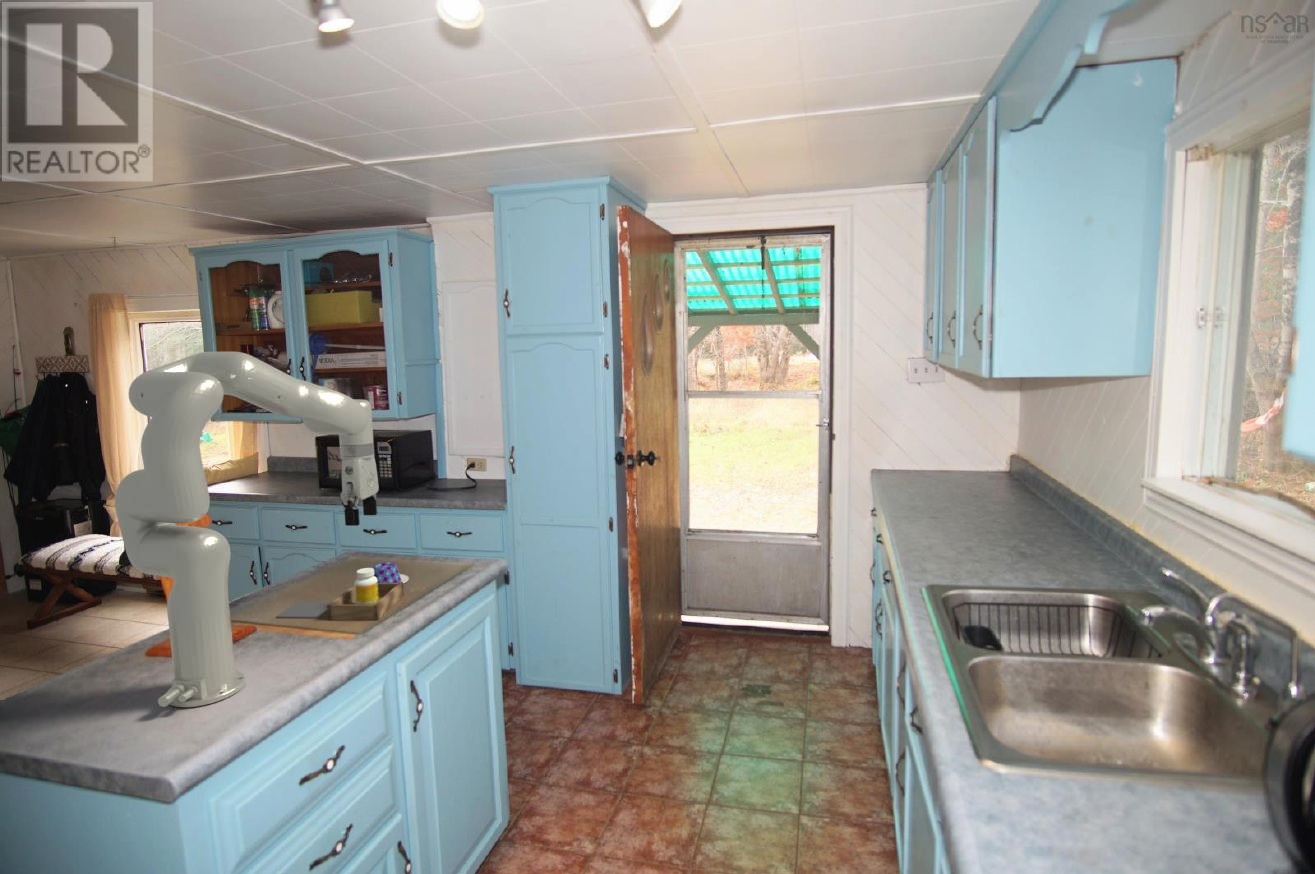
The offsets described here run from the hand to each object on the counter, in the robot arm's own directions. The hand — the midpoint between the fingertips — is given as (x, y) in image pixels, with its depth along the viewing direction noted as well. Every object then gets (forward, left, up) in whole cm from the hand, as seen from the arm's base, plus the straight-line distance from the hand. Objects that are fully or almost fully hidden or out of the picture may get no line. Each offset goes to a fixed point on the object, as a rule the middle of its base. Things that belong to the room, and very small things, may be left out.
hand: (361, 519), depth 169 cm
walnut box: (0, 0, -22) cm, 22 cm away
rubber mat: (-2, +14, -22) cm, 26 cm away
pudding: (+18, +3, -23) cm, 29 cm away
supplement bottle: (0, 0, -23) cm, 23 cm away
